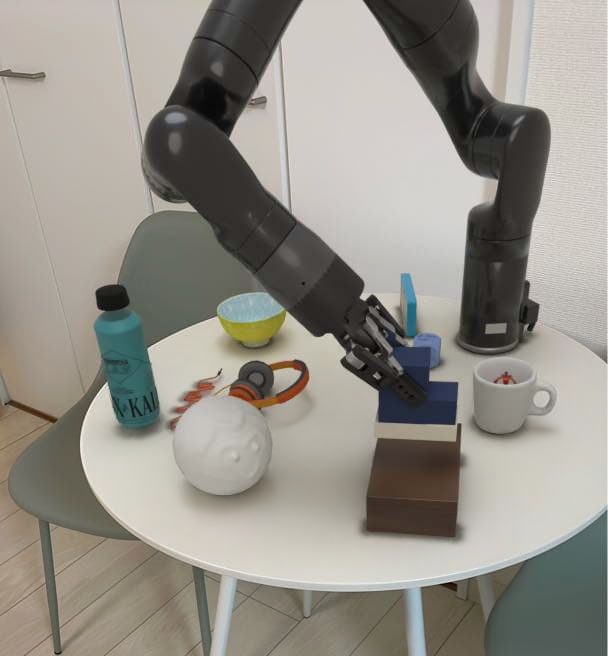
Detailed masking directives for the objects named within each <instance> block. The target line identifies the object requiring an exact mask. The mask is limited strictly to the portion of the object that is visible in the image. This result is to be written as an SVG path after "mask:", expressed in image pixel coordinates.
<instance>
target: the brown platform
mask: <svg viewBox="0 0 608 656" xmlns="http://www.w3.org/2000/svg"><path fill="white" fill-rule="evenodd" d="M462 425H463V424H462V423H461V422H457V435H456V442H453V441H432V440H411V439H390V438H376V443H375V449H374V454H373V459H372V463H371V464H372V465H371V469H370V476H369V480H368V484H367V490H366V494H365V506H366V507H365V516H366V517H365V520H366V523H365V524H366V525H365V526H366V529H365V530H366V531H367V532H377V533H378V532H379V533H393V534H394V533H395V534H408V535H421V536H422V535H423V536H436V537H437V536H438V537H452V538H455V537H456V533H457V520H458V509H459V495H460V494H459V491H460V472H461V470H460V469H461V449H462V448H461V447H462V427H463V426H462Z"/></svg>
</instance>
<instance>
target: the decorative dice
mask: <svg viewBox="0 0 608 656" xmlns="http://www.w3.org/2000/svg"><path fill="white" fill-rule="evenodd" d="M412 341H413V342H412V347H431V357H430V369H434V368H435V367H437V366H438V365H440V359H441V350H442V349H441V348H442V338H441V337H440V335H438V334H437V333H433V332H421V333H418V334H416V336H414V337H413V340H412Z"/></svg>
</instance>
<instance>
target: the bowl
mask: <svg viewBox="0 0 608 656" xmlns="http://www.w3.org/2000/svg"><path fill="white" fill-rule="evenodd" d="M216 314H217V317H218V320H219V323H220V325H221V327H222V328H223V330H224V331H225V332H226V333H227V334H228V335H229V336H230V337H232V338H234V339H235V340H237V341H240V342H241V344H242V345H243V346H245V347H247V348H260V347H263V346H266V345H267V344H268V343H269V342H270V338H272V337H273V336H274V335H276V334H277V333H278V332H279V331H280V330H281V329H282V326H283V325H284V322H285V319H286V316H287V311H286V310H285V309H284V308H283V307H282V306H281V305H280V304H279V303H278V302H276V301H275V300H274V299H273V298H272V297H271V296H270V295H269V294H268V293H267V292H263V291H262V292H260V291H259V292H247V293H242V294H241V293H240V294H237V295H233V296H231V297H229V298H226V299H225V300H223V301H222V302H220V303H219V304H218V306H217V308H216Z"/></svg>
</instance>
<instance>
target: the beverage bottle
mask: <svg viewBox="0 0 608 656" xmlns="http://www.w3.org/2000/svg"><path fill="white" fill-rule="evenodd" d="M94 296H95V300H96V302H95V304H96V308H97V309H98V310H99V311H102V312H101V313H100V314H99V315H98V317H97V318H96V319H95V320H94V323H93V330H94V332H95V333H94V334H95V337H96V340H97V345H98V348H99V354H100V358H99V359H100V361H101V362H102V363H101V364H102V366H103V367H102V368H103V372H104V377H105V381H106V385H107V387H108V390H109V399H110V402H111V406H112V410H113V415H114V416H115V419H116V421H117V422H118V423H119V424H120V425H121V426H123V427H127V428H141V427H145V426H148V425H150V424H153V423H154V422H155V421H157V419H159V417H160V414H161V408H162V406H161V404H160V403H161V402H160V399H159V393H158V389H157V383H156V378H155V375H154V370H153V365H152V364H153V363H152V362H151V360H150V355H149V354H150V353H149V350H148V344H147V340H146V335H145V331H144V330H145V329H144V327H143V320H142V319H143V318H142V317H141V316H140V315H139V314H138V313H136V312H135V311H133V310H131V309H128V308H127V307H128V306H130V304H131V301H130V297H129V295H128V292H127V289H126V286H124V285H123V284H116V283H114V284H106V285H102V286H100V287H98V288H97V289H96V290H95V292H94Z"/></svg>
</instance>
